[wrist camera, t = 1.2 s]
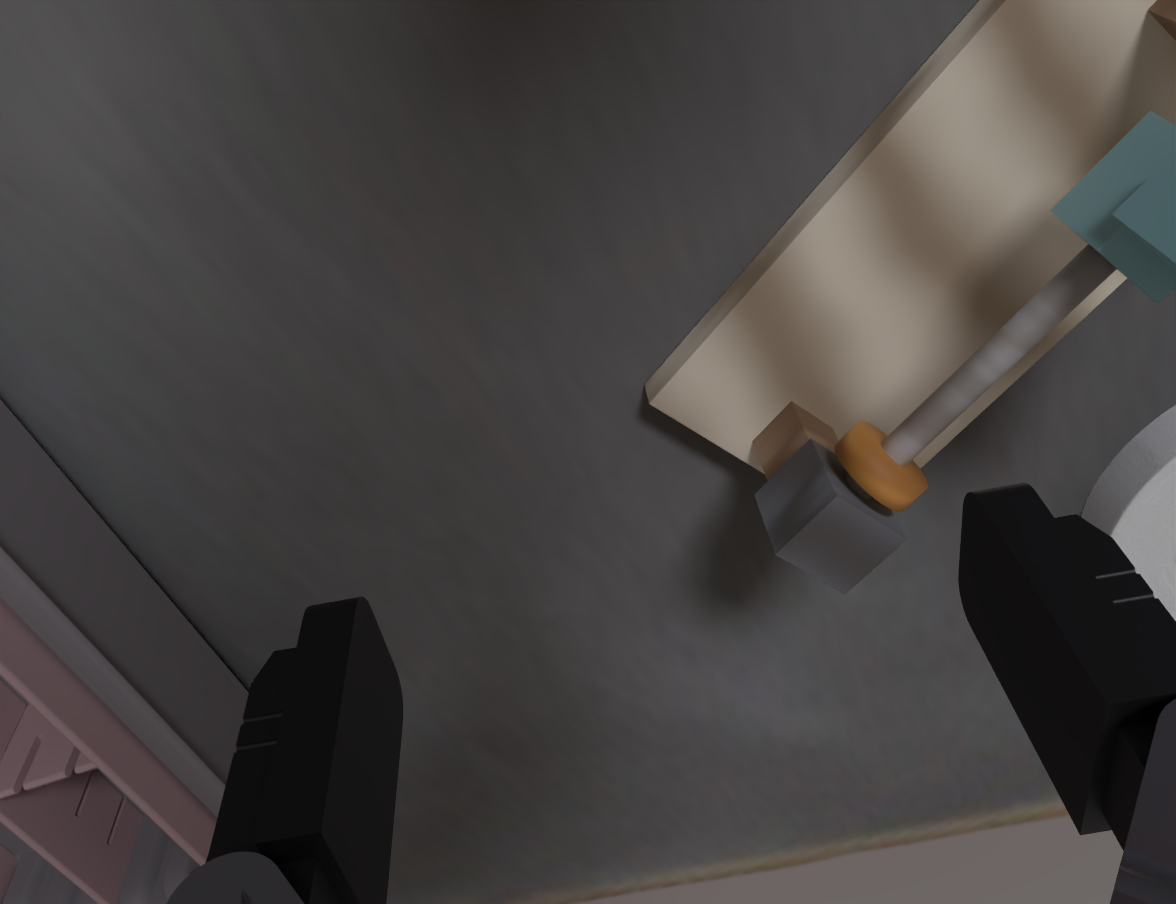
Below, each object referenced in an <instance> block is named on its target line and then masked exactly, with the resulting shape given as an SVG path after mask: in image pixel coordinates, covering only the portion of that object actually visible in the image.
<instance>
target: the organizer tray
mask: <svg viewBox="0 0 1176 904" xmlns="http://www.w3.org/2000/svg"><path fill="white" fill-rule="evenodd" d="M248 695H249V693H248V691H247V690H246V689H245V688H244V687H243V686H242V684H241V683H240V682H239V681H238V680H237V678H236V677H235V676H234V675H233V674H232V673H231V671H230V670H229V669H228V668H227V667H226V665H225V664H224V663H223V662H222V661H221V660H220V658H219V657H218V656H217V655H216V654H215V652H214V651H213V650H212V649H211V648H210V647H209V645H208V644H207V643H206V642H205V641H204V639H203V638H202V637H201V636H200V635H199V633H198V632H197V631H196V630H195V629H194V628H193V626H192V625H191V624H190V623H189V622H188V620H187V619H186V618H185V617H184V616H183V615H182V613H181V612H180V611H179V610H178V609H177V607H176V606H175V605H174V604H173V603H172V602H171V600H170V599H169V598H168V597H167V596H166V594H165V593H164V592H163V591H162V590H161V589H160V587H159V586H158V585H157V584H156V583H155V581H154V580H153V579H152V578H151V577H150V576H149V574H148V573H147V572H146V571H145V570H144V568H143V567H142V566H141V565H140V564H139V563H138V561H137V560H136V559H135V558H134V557H133V555H132V554H131V553H130V552H129V551H128V550H127V548H126V547H125V546H124V545H123V544H122V542H121V541H120V540H119V539H118V538H117V537H116V535H115V534H114V533H113V532H112V531H111V529H110V528H109V527H108V526H107V525H106V524H105V522H104V521H103V520H102V519H101V518H100V516H99V515H98V514H97V513H96V512H95V511H94V509H93V508H92V507H91V506H90V505H89V503H88V502H87V501H86V500H85V499H84V498H83V496H82V495H81V494H80V493H79V492H78V490H77V489H76V488H75V487H74V486H73V484H72V483H71V482H70V481H69V480H68V479H67V477H66V476H65V475H64V474H63V473H62V471H61V470H60V469H59V468H58V467H57V466H56V464H55V463H54V462H53V461H52V460H51V458H50V457H49V456H48V455H47V454H46V453H45V451H44V450H43V449H42V448H41V447H40V445H39V444H38V443H37V442H36V441H35V440H34V438H33V437H32V436H31V435H30V434H29V432H28V431H27V430H26V429H25V428H24V427H23V425H22V424H21V423H20V422H19V421H18V419H17V418H16V417H15V416H14V415H13V414H12V412H11V411H10V410H9V409H8V408H7V406H6V405H5V404H4V403H3V402H2V401H1V399H0V904H166V903H167V901H168V900H169V898H170V896H171V895H172V893H173V892H174V891H175V889H176V888H177V887H178V886H179V885H180V884H181V882H182V881H183V880H184V879H185V878H186V877H187V876H189V875H190V874H191V873H192V872H193V871H195V870H196V869H197V868H199V867H200V866H202V865H203V864H205V862H206V859H207V856H208V853H209V849H210V846H211V842H212V838H213V834H214V830H215V826H216V822H217V818H218V814H219V810H220V806H221V802H222V798H223V794H224V790H225V786H226V782H227V778H228V774H229V770H230V766H231V762H232V758H233V754H234V753H235V752H236V751H237V749H236V742H237V738H238V734H239V730H240V726H241V725H242V724H243V714H244V710H245V706H246V703H247V699H248Z"/></svg>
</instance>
